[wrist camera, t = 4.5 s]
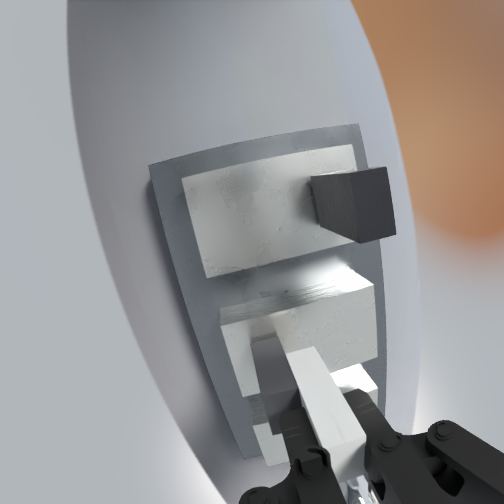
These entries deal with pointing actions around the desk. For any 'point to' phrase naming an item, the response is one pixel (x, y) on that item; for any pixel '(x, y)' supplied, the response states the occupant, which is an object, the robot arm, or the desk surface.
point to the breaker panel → (280, 263)
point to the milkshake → (357, 491)
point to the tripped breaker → (275, 380)
